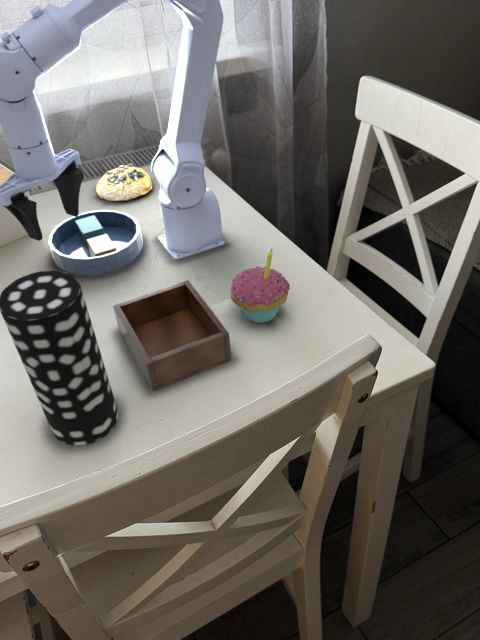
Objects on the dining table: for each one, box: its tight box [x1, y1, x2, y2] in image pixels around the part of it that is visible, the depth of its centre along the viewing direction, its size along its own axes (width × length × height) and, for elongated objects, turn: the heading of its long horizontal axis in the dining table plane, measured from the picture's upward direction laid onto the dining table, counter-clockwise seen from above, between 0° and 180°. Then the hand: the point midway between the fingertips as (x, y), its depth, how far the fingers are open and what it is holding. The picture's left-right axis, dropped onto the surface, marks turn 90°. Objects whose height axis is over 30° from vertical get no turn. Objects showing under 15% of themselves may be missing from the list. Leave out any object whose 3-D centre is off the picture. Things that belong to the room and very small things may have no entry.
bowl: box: [47, 209, 144, 276], centre depth 102 cm, size 15×15×4 cm
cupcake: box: [230, 247, 291, 324], centre depth 85 cm, size 9×8×12 cm
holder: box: [112, 279, 232, 392], centre depth 83 cm, size 12×14×5 cm
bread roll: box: [95, 163, 153, 202], centre depth 117 cm, size 11×11×5 cm
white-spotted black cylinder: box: [0, 270, 119, 446], centre depth 68 cm, size 8×8×20 cm
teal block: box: [75, 215, 104, 249], centre depth 104 cm, size 4×5×3 cm
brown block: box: [87, 234, 116, 257], centre depth 99 cm, size 4×5×3 cm
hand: (54, 225), depth 91 cm, fingers open, 7 cm apart
